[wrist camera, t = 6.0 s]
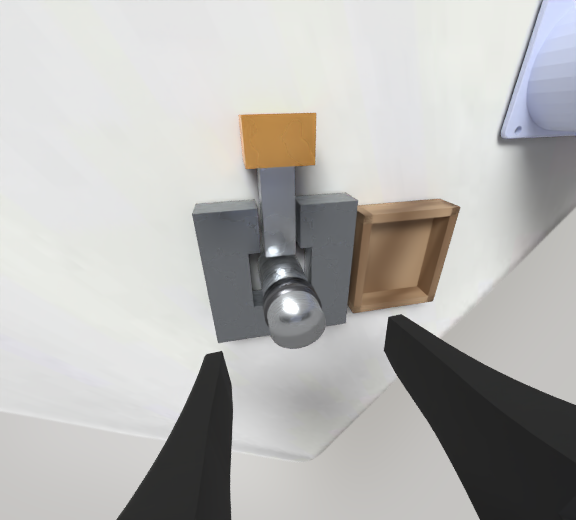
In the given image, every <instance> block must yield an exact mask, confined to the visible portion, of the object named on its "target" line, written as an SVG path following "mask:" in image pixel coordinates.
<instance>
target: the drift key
mask: <svg viewBox="0 0 576 520" xmlns="http://www.w3.org/2000/svg"><path fill="white" fill-rule="evenodd" d="M239 125H240V135H241V145H242V156H243V162H244V165H245V168H246V169H256V168H257V176H258V189H259V202H260V216H261V229H262V242H263V249H264V252H265V256H266V257H274V256H283V255H292V254H296V229H295V166H308V165H315V145H316V113H292V114H253V115H239Z"/></svg>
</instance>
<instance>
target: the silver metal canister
mask: <svg viewBox="0 0 576 520" xmlns="http://www.w3.org/2000/svg"><path fill="white" fill-rule="evenodd" d="M257 267H258V272H259V277H260V283H261V288H262V293H263V299H262V306H263V312H264V317H265V322H266V324H267V326H268V327H269V329H270V334H271V337H272V339H273V341H274V342H275V343H276V344H278V345H279V346H281V347H284V348H290V349H296V348H302V347H305V346H308V345H310V344H312V343H313V342H315V341H316V340H317V339H318V338H319V337H320V336H321V335H322V333H323V332H324V329H325V326H326V319H325V316H324V313H323V311H322V305H321V301H320V299H319V297H318V295H317V293H316V291H315V289H314V287H313V286H312V284H311V283H310V282H308V280H307V278H306V276H305V274H304V272H303V270H302V268H301V266H300V264H299V262H298V260H297V257H296V255H295V254H292V255H283V256H274V257H266V256H265V252H263V253H262V254H261V255H260V257H259V259H258V263H257Z"/></svg>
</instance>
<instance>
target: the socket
mask: <svg viewBox="0 0 576 520" xmlns="http://www.w3.org/2000/svg"><path fill="white" fill-rule="evenodd" d="M357 206H358V200H357V199H355V198H354V197H352V196H350V195H349V194H347V193H334V194H321V195H308V196H295V229H296V241H297V243H298V245H299V247H300V248H305V276H306V278H307V280H308V282H310V283H311V284H312V286H313V287H314V289H315V291H316V293H317V295H318V297H319V299H320V301H321V305H322V311H323V313H324V316H325V319H326V326H330V325H337V324H343V323H346V313H347V303H348V294H349V284H350V274H351V265H352V255H353V245H354V236H355V226H356V216H357ZM192 216H193V221H194V226H195V231H196V236H197V241H198V246H199V251H200V256H201V260H202V265H203V270H204V275H205V280H206V285H207V290H208V295H209V300H210V305H211V310H212V315H213V320H214V325H215V330H216V335H217V340H218V343H222V342H228V341H235V340H241V339H247V338H254V337H260V336H266V335H271V334H270V329H269V327H268V326H267V324H266V322H265V317H264V312H263V306H262V299H263V293H262V290H254V291H252V284H251V274H250V265H249V255H248V254H253V253H261V247H260V235H259V222H258V210H257V206H256V203H255V200H242V201H228V202H215V203H202V204H196V205H195V208H194V210H193V213H192Z"/></svg>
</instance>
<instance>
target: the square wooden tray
mask: <svg viewBox="0 0 576 520" xmlns="http://www.w3.org/2000/svg"><path fill="white" fill-rule="evenodd" d="M459 210H460V207H459V206H457V205H454V204H452V203H449V202H447V201H444V200H442V199H430V200H418V201H406V202H395V203H383V204H371V205H359V206H357V216H356V226H355V236H354V245H353V255H352V265H351V274H350V284H349V294H348V303H347V305H348V306H349V308H350V309H351V311H352V312H353V313H358V312H365V311H371V310H378V309H384V308H391V307H398V306H404V305H411V304H418V303H424V302H431V301H433V299H434V296H435V292H436V289H437V286H438V282H439V279H440V275H441V272H442V268H443V265H444V261H445V258H446V255H447V251H448V248H449V244H450V241H451V237H452V234H453V231H454V227H455V224H456V220H457V217H458V213H459Z"/></svg>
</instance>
